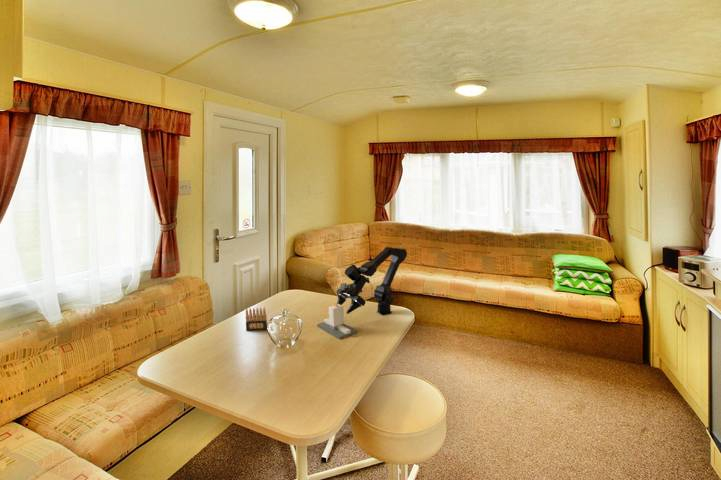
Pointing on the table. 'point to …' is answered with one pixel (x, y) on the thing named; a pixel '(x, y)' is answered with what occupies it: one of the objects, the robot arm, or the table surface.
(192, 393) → the table surface
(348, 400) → the table surface
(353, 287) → the robot arm
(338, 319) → the block
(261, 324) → the ammunition clip
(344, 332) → the mounting board
